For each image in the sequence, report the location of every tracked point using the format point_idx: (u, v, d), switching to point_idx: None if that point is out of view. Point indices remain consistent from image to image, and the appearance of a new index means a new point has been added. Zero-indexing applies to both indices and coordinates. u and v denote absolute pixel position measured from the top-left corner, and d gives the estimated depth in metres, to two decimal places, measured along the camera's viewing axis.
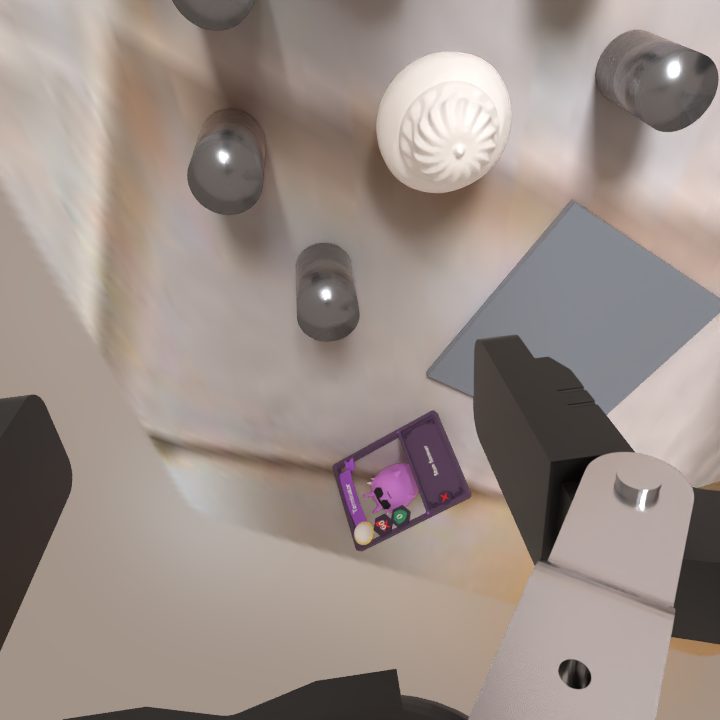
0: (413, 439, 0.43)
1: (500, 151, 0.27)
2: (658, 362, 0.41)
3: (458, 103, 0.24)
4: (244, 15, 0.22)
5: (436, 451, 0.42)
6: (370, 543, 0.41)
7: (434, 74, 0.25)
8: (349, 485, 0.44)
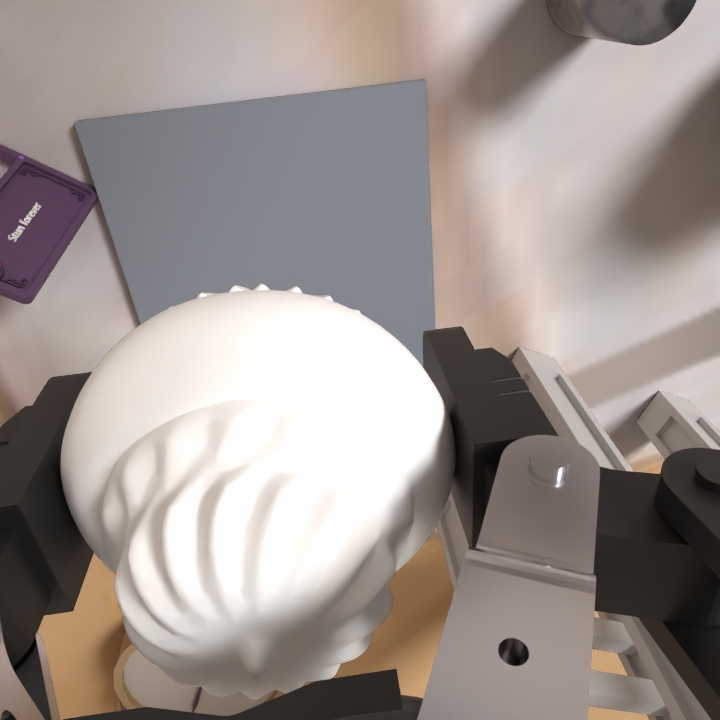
0: (31, 184, 0.24)
1: None
2: None
3: (360, 528, 0.07)
4: None
5: (45, 223, 0.23)
6: None
7: (360, 387, 0.08)
8: None
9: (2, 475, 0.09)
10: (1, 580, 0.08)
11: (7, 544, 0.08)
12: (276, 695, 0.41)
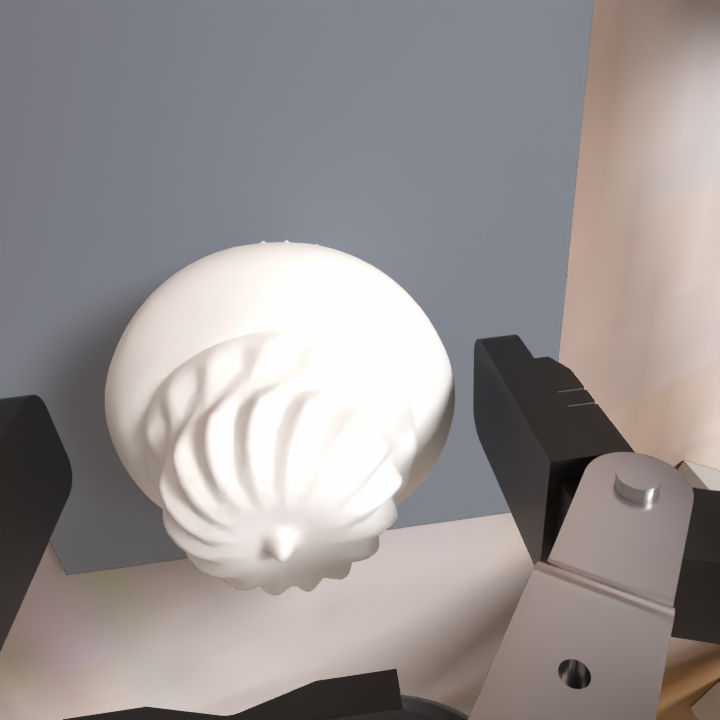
0: None
1: None
2: None
3: (372, 441, 0.09)
4: None
5: None
6: None
7: (374, 326, 0.09)
8: None
9: None
10: None
11: None
12: None
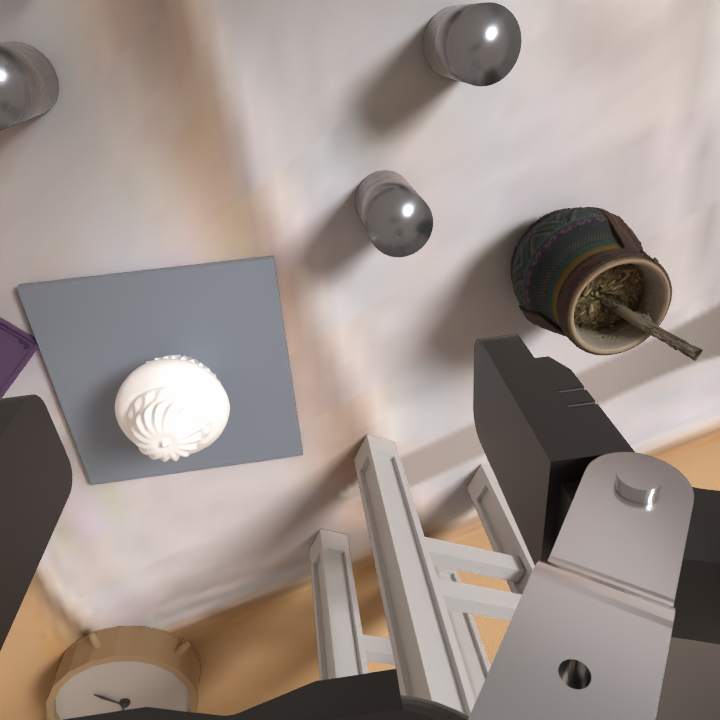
0: None
1: (190, 453, 0.35)
2: (219, 462, 0.40)
3: (190, 416, 0.31)
4: None
5: None
6: None
7: (194, 384, 0.32)
8: None
9: None
10: None
11: None
12: None
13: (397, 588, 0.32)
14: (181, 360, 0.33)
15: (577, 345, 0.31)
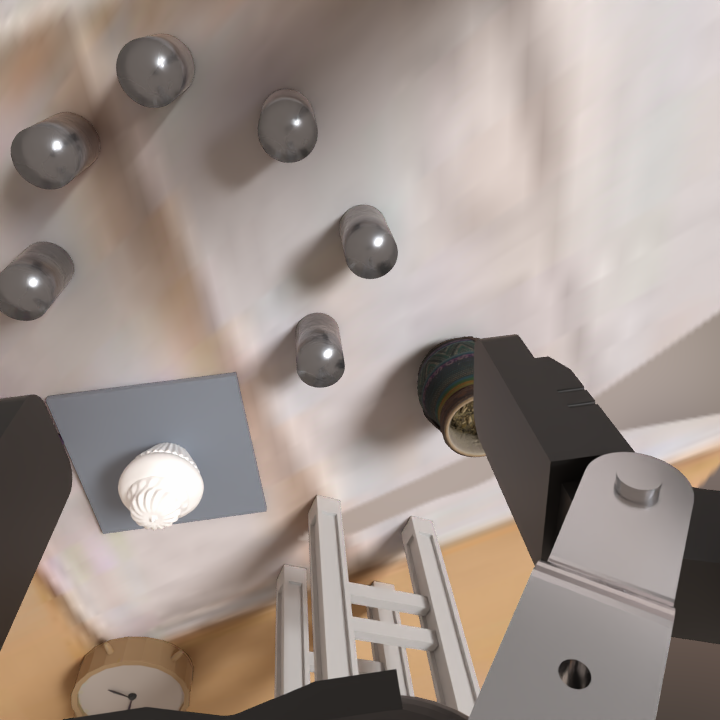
0: None
1: None
2: (201, 516, 0.52)
3: (171, 499, 0.43)
4: (149, 106, 0.31)
5: None
6: None
7: (175, 473, 0.44)
8: None
9: None
10: None
11: None
12: (181, 709, 0.61)
13: None
14: (166, 454, 0.44)
15: (454, 451, 0.42)
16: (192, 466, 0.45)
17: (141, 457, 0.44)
